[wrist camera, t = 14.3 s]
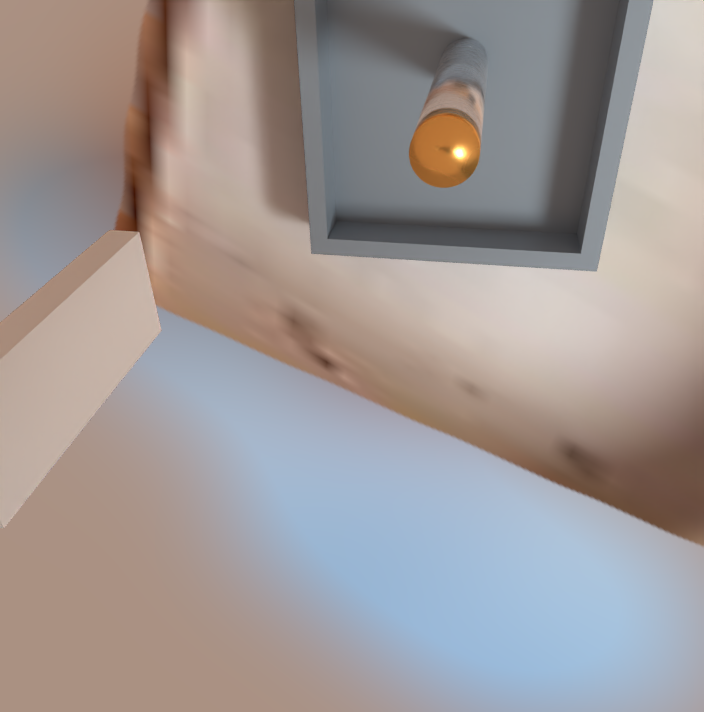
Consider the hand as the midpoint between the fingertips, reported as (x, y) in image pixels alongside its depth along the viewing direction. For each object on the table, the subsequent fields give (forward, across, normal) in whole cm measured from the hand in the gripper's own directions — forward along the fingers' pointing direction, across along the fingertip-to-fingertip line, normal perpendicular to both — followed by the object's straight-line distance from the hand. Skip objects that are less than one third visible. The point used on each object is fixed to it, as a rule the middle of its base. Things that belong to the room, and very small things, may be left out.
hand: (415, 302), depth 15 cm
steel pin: (+24, 0, 0) cm, 24 cm away
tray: (+25, 0, 0) cm, 25 cm away
